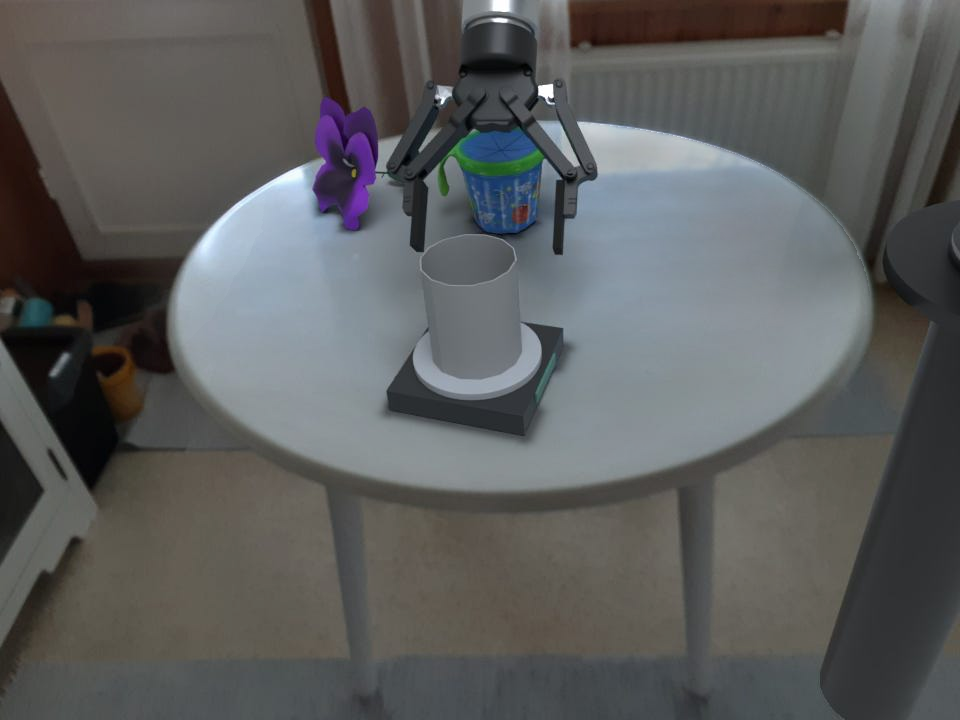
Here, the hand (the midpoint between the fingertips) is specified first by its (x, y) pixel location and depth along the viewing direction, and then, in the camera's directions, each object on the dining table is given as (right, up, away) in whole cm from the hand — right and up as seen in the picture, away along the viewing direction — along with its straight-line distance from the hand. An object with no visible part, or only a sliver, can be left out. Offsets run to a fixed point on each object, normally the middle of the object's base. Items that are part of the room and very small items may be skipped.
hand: (486, 250), depth 80 cm
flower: (-14, +10, +30) cm, 34 cm away
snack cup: (+3, +6, +23) cm, 24 cm away
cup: (-1, -10, -2) cm, 10 cm away
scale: (-1, -12, 0) cm, 12 cm away
